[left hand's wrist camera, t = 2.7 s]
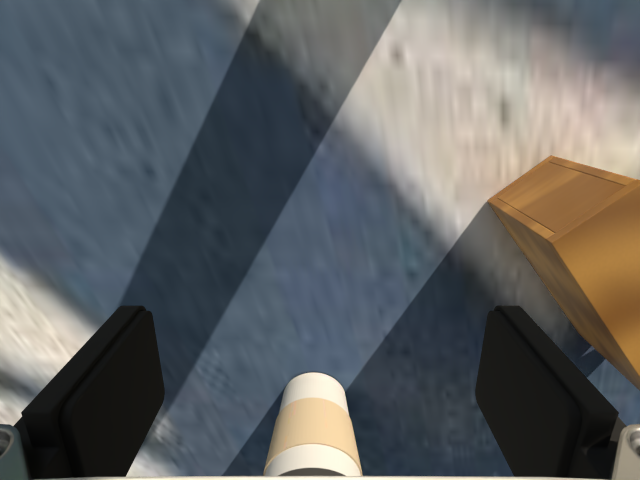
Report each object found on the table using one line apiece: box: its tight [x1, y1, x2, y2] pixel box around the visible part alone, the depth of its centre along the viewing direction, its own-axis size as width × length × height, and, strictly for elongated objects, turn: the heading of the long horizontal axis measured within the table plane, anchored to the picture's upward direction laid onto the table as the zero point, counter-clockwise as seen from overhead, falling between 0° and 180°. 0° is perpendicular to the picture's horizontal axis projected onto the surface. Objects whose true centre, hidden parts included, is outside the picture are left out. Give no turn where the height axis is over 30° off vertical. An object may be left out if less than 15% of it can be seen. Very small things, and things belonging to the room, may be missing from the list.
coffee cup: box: [263, 373, 363, 476], centre depth 37 cm, size 9×9×15 cm
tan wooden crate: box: [487, 156, 640, 390], centre depth 33 cm, size 18×6×11 cm, turn 39°
